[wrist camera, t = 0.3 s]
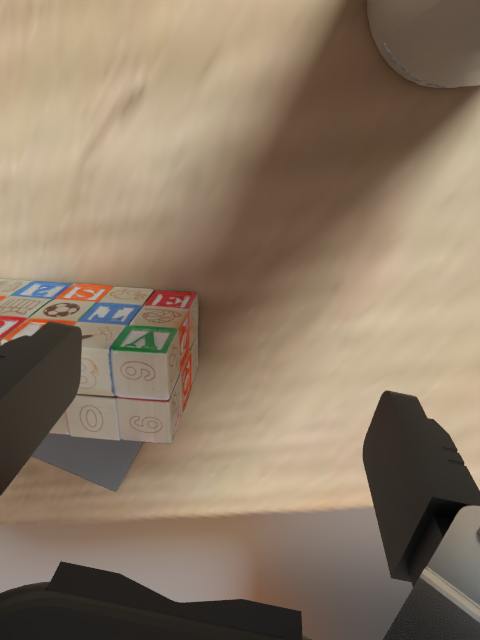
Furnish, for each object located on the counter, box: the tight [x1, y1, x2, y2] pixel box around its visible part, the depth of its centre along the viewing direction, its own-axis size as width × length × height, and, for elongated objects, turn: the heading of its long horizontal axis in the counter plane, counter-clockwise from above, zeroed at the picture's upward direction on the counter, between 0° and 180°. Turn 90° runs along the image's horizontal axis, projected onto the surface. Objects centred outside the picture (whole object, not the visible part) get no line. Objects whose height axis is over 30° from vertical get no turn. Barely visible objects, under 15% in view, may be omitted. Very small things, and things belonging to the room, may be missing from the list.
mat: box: [31, 433, 143, 492], centre depth 37 cm, size 11×20×1 cm, turn 63°
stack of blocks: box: [0, 279, 198, 444], centre depth 27 cm, size 21×6×12 cm, turn 88°
